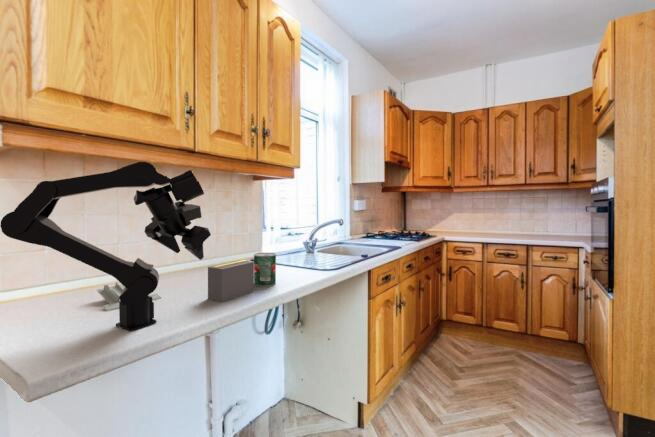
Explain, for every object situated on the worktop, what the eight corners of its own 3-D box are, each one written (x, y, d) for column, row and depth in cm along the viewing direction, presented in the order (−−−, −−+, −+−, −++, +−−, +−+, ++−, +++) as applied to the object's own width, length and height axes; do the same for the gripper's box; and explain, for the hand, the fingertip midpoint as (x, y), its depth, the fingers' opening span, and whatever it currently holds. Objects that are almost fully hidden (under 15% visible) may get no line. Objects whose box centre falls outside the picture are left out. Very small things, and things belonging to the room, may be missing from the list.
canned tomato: (249, 283, 121) (250, 253, 120) (268, 280, 126) (269, 251, 125) (260, 288, 115) (260, 256, 114) (279, 284, 120) (280, 254, 119)
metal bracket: (87, 284, 95) (141, 275, 108) (85, 302, 96) (138, 291, 109) (109, 307, 88) (164, 294, 100) (107, 326, 89) (161, 311, 101)
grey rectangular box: (222, 302, 98) (222, 267, 98) (207, 299, 101) (207, 265, 101) (253, 291, 111) (253, 260, 110) (240, 289, 113) (240, 259, 113)
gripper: (213, 196, 83) (233, 242, 92) (164, 188, 91) (187, 231, 101) (180, 223, 76) (206, 270, 85) (130, 212, 84) (159, 256, 93)
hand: (190, 255), depth 91 cm, fingers open, 9 cm apart
